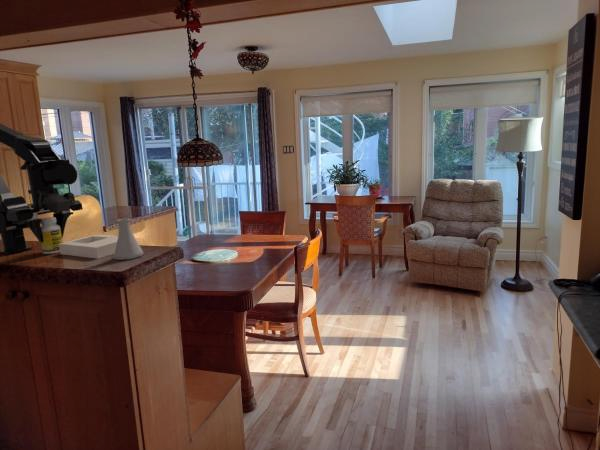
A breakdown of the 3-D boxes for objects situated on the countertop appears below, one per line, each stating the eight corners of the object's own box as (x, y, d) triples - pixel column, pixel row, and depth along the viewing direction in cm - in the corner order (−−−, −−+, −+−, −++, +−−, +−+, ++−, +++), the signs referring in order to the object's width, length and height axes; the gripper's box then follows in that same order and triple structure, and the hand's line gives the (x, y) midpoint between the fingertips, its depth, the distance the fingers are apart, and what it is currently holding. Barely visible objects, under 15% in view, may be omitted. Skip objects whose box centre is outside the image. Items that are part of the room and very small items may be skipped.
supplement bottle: (55, 254, 124) (49, 219, 122) (38, 254, 124) (32, 220, 123) (68, 249, 129) (62, 216, 127) (51, 249, 130) (45, 216, 128)
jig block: (60, 254, 123) (59, 243, 123) (98, 243, 134) (97, 234, 133) (98, 258, 115) (96, 247, 115) (135, 247, 126) (133, 237, 125)
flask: (133, 260, 111) (128, 221, 109) (108, 261, 113) (102, 222, 111) (148, 253, 118) (143, 216, 116) (124, 253, 120) (118, 217, 118)
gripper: (24, 190, 111) (35, 250, 114) (90, 181, 127) (98, 234, 130) (0, 189, 116) (11, 247, 119) (66, 181, 132) (74, 232, 135)
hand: (51, 239), depth 126 cm, fingers closed on supplement bottle, 5 cm apart
